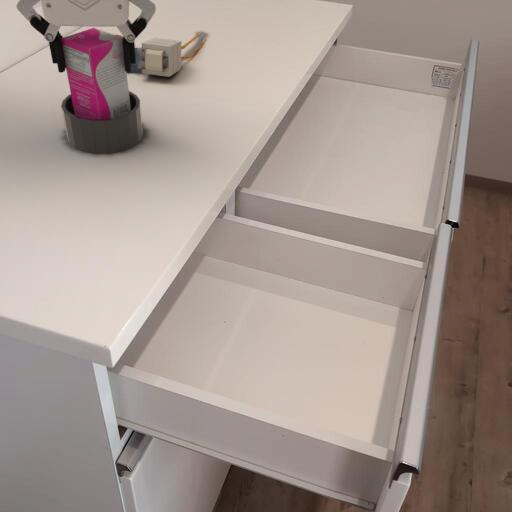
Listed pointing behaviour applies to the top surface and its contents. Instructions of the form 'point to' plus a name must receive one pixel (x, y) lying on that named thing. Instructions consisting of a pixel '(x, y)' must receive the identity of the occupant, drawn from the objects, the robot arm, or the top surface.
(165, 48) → the electrical component
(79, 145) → the dark grey round bin
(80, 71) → the supplement box
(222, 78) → the top surface
